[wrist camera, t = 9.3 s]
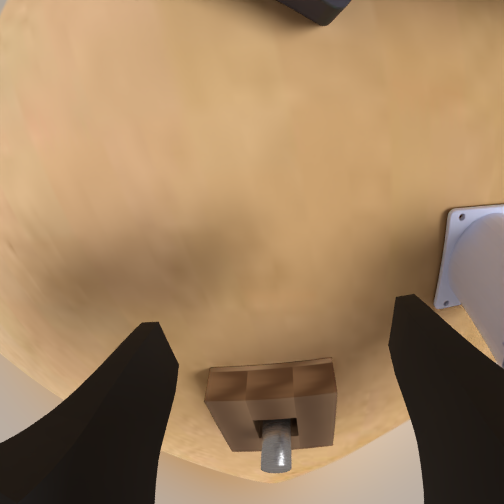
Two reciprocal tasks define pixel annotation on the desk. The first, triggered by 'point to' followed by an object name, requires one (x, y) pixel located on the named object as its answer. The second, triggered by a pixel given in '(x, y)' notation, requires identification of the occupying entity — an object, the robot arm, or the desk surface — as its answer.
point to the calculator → (317, 9)
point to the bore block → (274, 402)
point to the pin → (276, 446)
